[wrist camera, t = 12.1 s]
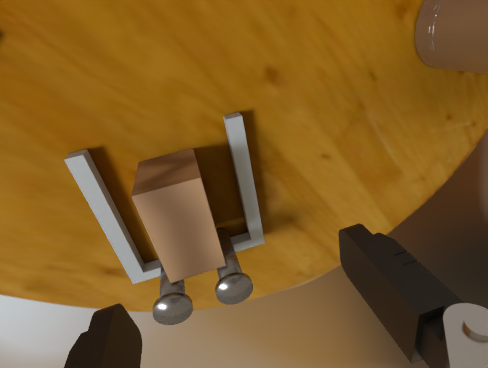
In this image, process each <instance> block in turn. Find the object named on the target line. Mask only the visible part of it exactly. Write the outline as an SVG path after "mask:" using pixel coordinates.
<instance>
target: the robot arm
mask: <svg viewBox="0 0 488 368" xmlns="http://www.w3.org/2000/svg"><path fill="white" fill-rule="evenodd" d="M415 42H416V49H417V51H418V54H419V56H420V58H421V59H422V61H423V62H424V63H426V64H427V65H428V66H430V67H434V68H439V69H448V70H458V71H467V72H474V73H484V74H488V0H425V1H424V3H423V5H422V7H421V10H420V13H419V15H418V19H417V24H416V29H415ZM339 247H340V260H341V264H342V267H343V269H344V271H345V273H346V275H347V277H348V278H349V279H350V281H351V282H352V283H353V285H354V286H355V288H356V289H357V290H358V292H359V293H360V294H361V296H362V297H363V298H364V300H365V301H366V302H367V304H368V305H369V306H370V308H371V309H372V311H373V312H374V313H375V315H376V316H377V318H378V319H379V320H380V322H381V323H382V324H383V326H384V327H385V328H386V330H387V331H388V333H389V334H390V335H391V337H392V338H393V339H394V341H395V342H396V343H397V345H398V346H399V347H400V349H401V350H402V351H403V353H404V354H405V356H406V357H407V358H408V360H409V361H410V362H411V364H412V363H415V362H418V361H420V360H424V361H425V362H426V364H427V365H428V366H429V368H488V309H486V308H484V307H481V306H478V305H474V304H468V303H465V302H464V301H462V300H461V299H460V298H459V297H457V296H456V295H455V294H454V293H453V292H452V291H451V290H450V289H448V288H447V287H446V286H445V285H444V284H443V283H442V282H441V281H440V280H438V278H436V277H435V276H434V275H433V274H432V273H431V272H430V271H429V270H427V269H426V268H425V267H424V266H423V265H422V264H421V263H420V262H417V259H415V258H414V257H413V256H412V255H411V254H410V253H407V251H406V250H405V249H404V248H403V247H402V246H401V245H400V244H399V243H398V242H396V241H395V240H394V239H392V238H390V237H387V236H386V235H384V234H381V233H376V234H374V235H373V234H372V233H371V232H369V231H368V230H367V229H366V228H365V227H364V226H363V225H362V224H356V225H353V226H350V227H347V228H344V229H341V230H339ZM141 353H142V338H141V334H140V331H139V329H138V327H137V326H136V324H135V323H134V321H133V320H132V318H131V317H130V316H129V314H128V313H127V311H126V310H125V308H124V307H123V306H122V305H121V304H115V305H113V306H110V307H107V308H104V309H101V310H98V311H96V312H95V313H94V314H93V316H92V319H91V322H90V326H89V329H88V331H87V332H84V333H82V334H81V335H80V336H79V338H78V339H77V341H76V343H75V344H74V346H73V347H72V349H71V350H70V352H69V355H68V358H67V361H66V363H65V367H64V368H140V362H141Z"/></svg>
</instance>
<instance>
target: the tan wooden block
mask: <svg viewBox="0 0 488 368" xmlns="http://www.w3.org/2000/svg"><path fill="white" fill-rule="evenodd" d="M131 197H132V199H133V201H134V204H135V206H136V208H137V210H138V213H139V215H140V217H141V219H142V221H143V224H144V226H145V228H146V230H147V232H148V235H149V237H150V239H151V241H152V243H153V246H154V248H155V250H156V252H157V254H158V257H159V259H160V261H161V263H162V265H163V268H164V270H165V272H166V274H167V277H168V279H169V281H170V283H173V282H176V281H179V280H182V279H186V278H189V277H192V276H195V275H198V274H201V273H204V272H208V271H211V270H214V269H217V268H220V267H223V266H226V263H225V260H224V256H223V252H222V248H221V245H220V241H219V237H218V233H217V230H216V226H215V222H214V219H213V215H212V212H211V209H210V205H209V202H208V198H207V195H206V191H205V188H204V184H203V181H202V177H201V174H200V170H199V167H198V163H197V160H196V156H195V153H194V149H189V150H185V151H181V152H177V153H173V154H169V155H165V156H161V157H158V158H154V159H150V160H146V161H142V162H139V163H138V168H137V173H136V177H135V182H134V186H133V191H132V195H131Z"/></svg>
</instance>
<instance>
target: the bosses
mask: <svg viewBox="0 0 488 368" xmlns="http://www.w3.org/2000/svg"><path fill="white" fill-rule="evenodd" d="M216 230H217V233H218V237H219V241H220V245H221V248H222V252H223V256H224V260H225V263H226V266H223V267H220V268H217V271H218V276H219V281H218V283H217V284H216V288H215V291H216V296H217V299H218V300H219V301H220V302H221V303H224V304H237V303H240V302H242V301H244V300H245V299H247V298H248V297H249V296H250V294H251V293H252V290H253V284H252V282H251V279H250V277H249V276H248V275H246V274H244V273H242V271H241V268H240V265H239V262H238V259H237V256H236V252H235V249H234V246H233V243H232V240H231V237H230V234H229V232H228V230H227V229H224V228H218V229H216ZM192 311H193V307H192V300H191V298H190V297H189V296H187V295H186V294H185V287H184V279H182V280H179V281H176V282H173V283H170V281H169V279H168V277H167V274H166V272H165V270H164V268H163V265H162V263H161V275H160V298H159V299H157V300H156V302H155V303H154V305H153V317H154V319H155V320H156V321H157V322H158V323H161V324H164V325H174V324H178V323H181V322H183V321H185V320H186V319H187V318H188V317H189V316H190V315H191V313H192Z"/></svg>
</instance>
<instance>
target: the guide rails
mask: <svg viewBox="0 0 488 368" xmlns="http://www.w3.org/2000/svg"><path fill="white" fill-rule="evenodd" d="M223 118H224V123H225V128H226V132H227V137H228V142H229V146H230V151H231V156H232V160H233V165H234V170H235V174H236V179H237V184H238V188H239V193H240V198H241V202H242V207H243V212H244V216H245V221H246V226H247V230H248V232H246V233H243V234H240V235H237V236H233V237H231V240H232V243H233V246H234V249H235V252H238V251H241V250H244V249H247V248H251V247H254V246H257V245H260V244H263V243H265V241H264V235H263V230H262V224H261V218H260V213H259V207H258V202H257V196H256V190H255V185H254V179H253V174H252V168H251V162H250V157H249V151H248V146H247V140H246V134H245V129H244V123H243V118H242V115H241V114H240V113H239V112H237V113H233V114H229V115H224V116H223ZM64 160H65V162H66V164H67V166H68V168H69V169H70V171H71V173H72V175H73V177H74V178H75V180H76V182H77V184H78V186H79V187H80V189H81V191H82V193H83V195H84V196H85V198H86V200H87V202H88V204H89V205H90V207H91V209H92V211H93V213H94V214H95V216H96V218H97V220H98V222H99V223H100V225H101V227H102V229H103V231H104V232H105V234H106V236H107V238H108V240H109V241H110V243H111V245H112V247H113V249H114V250H115V252H116V254H117V256H118V258H119V259H120V261H121V263H122V265H123V267H124V268H125V270H126V272H127V274H128V276H129V278H130V279H131V281H132V283H133V284H136V283H139V282H142V281H145V280H148V279H152V278H155V277H158V276H160V275H161V261H160V259H158V260H155V261H151V262H148V263H145V264H144V262H143V260H142V258H141V256H140V254H139V252H138V250H137V248H136V246H135V244H134V242H133V240H132V238H131V236H130V234H129V232H128V230H127V228H126V226H125V224H124V222H123V220H122V218H121V216H120V214H119V212H118V210H117V208H116V206H115V204H114V202H113V200H112V198H111V196H110V194H109V192H108V190H107V188H106V186H105V184H104V182H103V180H102V178H101V176H100V174H99V172H98V170H97V168H96V166H95V164H94V162H93V160H92V158H91V156H90V154H89V152H88V150H87V149H85V150H81V151H77V152H73V153H69V154H68V155H67V157H66V158H65V159H64Z"/></svg>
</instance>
